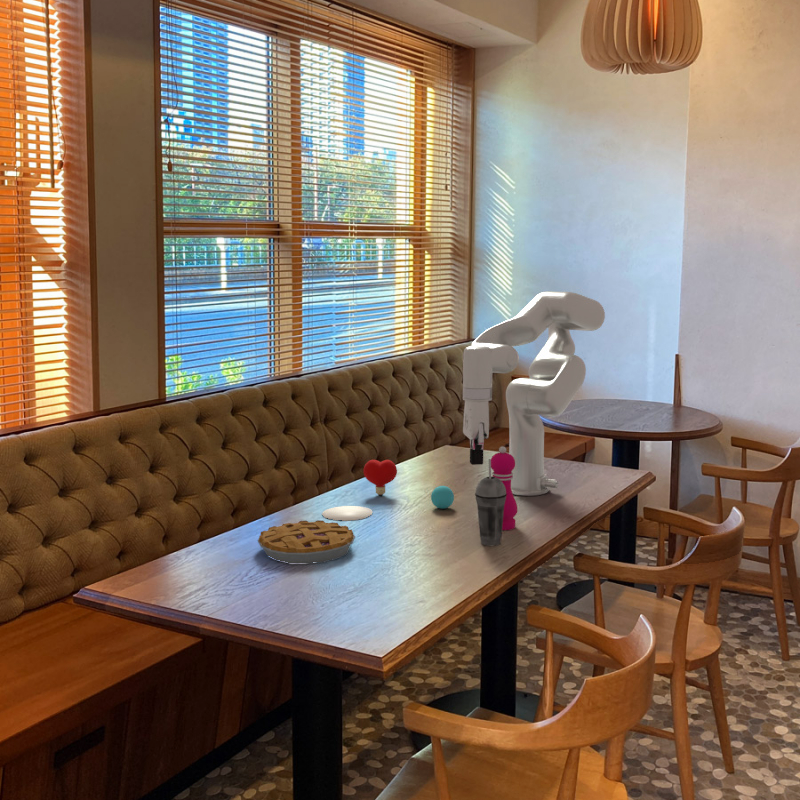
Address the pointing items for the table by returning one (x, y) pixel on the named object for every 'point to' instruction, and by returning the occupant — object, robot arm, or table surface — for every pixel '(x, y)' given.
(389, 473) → the light bulb
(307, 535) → the pie
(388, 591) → the table surface
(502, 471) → the pepper mill
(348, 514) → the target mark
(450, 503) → the ball
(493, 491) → the beverage cup
